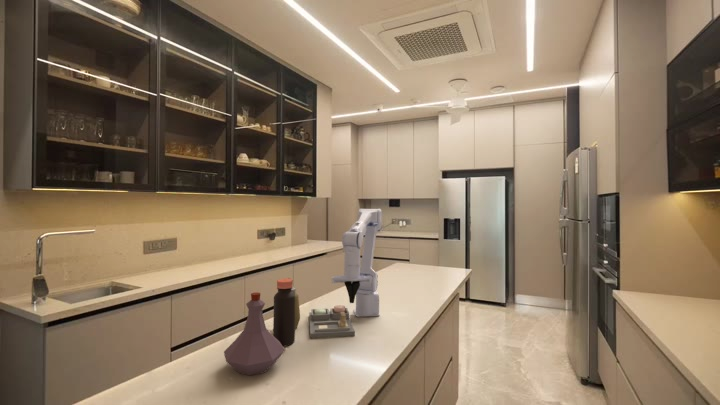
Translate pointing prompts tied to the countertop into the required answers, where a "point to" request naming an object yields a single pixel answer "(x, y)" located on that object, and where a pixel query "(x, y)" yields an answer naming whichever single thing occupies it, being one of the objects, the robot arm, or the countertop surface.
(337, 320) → the panel
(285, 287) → the vinegar
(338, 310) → the pink button
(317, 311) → the mint button
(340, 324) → the tan wooden step block
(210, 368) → the countertop surface
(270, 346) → the flask
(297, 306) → the squeeze bottle
